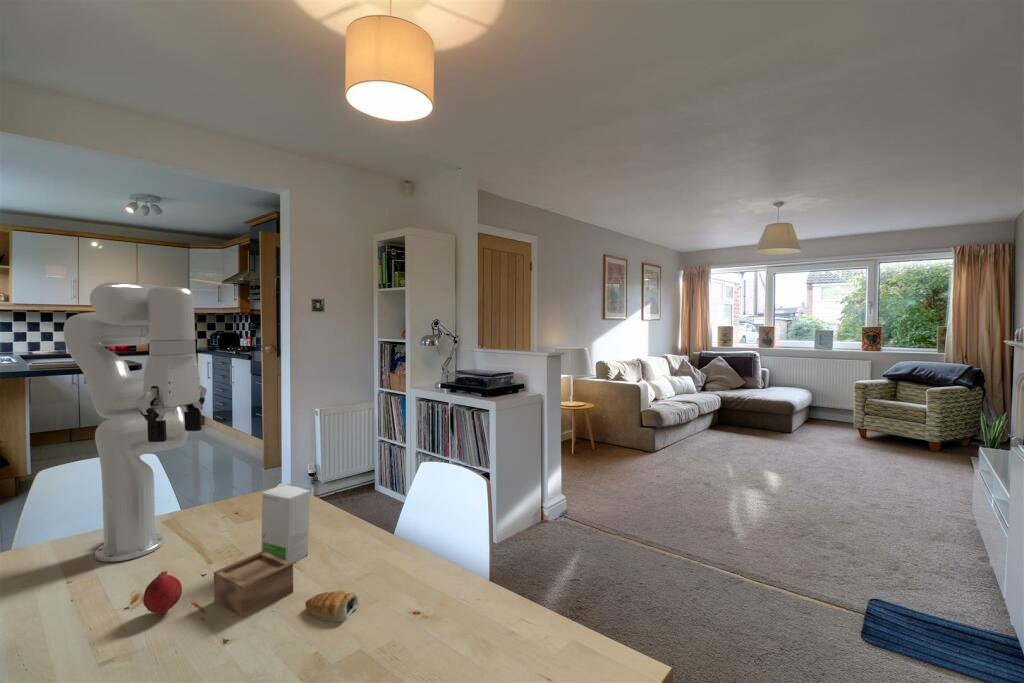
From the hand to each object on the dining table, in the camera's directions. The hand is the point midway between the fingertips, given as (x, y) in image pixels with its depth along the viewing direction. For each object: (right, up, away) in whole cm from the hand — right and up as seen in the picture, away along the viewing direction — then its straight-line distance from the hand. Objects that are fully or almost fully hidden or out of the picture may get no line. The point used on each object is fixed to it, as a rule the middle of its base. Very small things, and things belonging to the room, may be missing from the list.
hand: (176, 435), depth 97 cm
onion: (+2, -32, -7) cm, 33 cm away
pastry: (+33, -32, -6) cm, 47 cm away
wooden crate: (+16, -32, -1) cm, 35 cm away
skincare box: (+15, -31, +15) cm, 37 cm away
